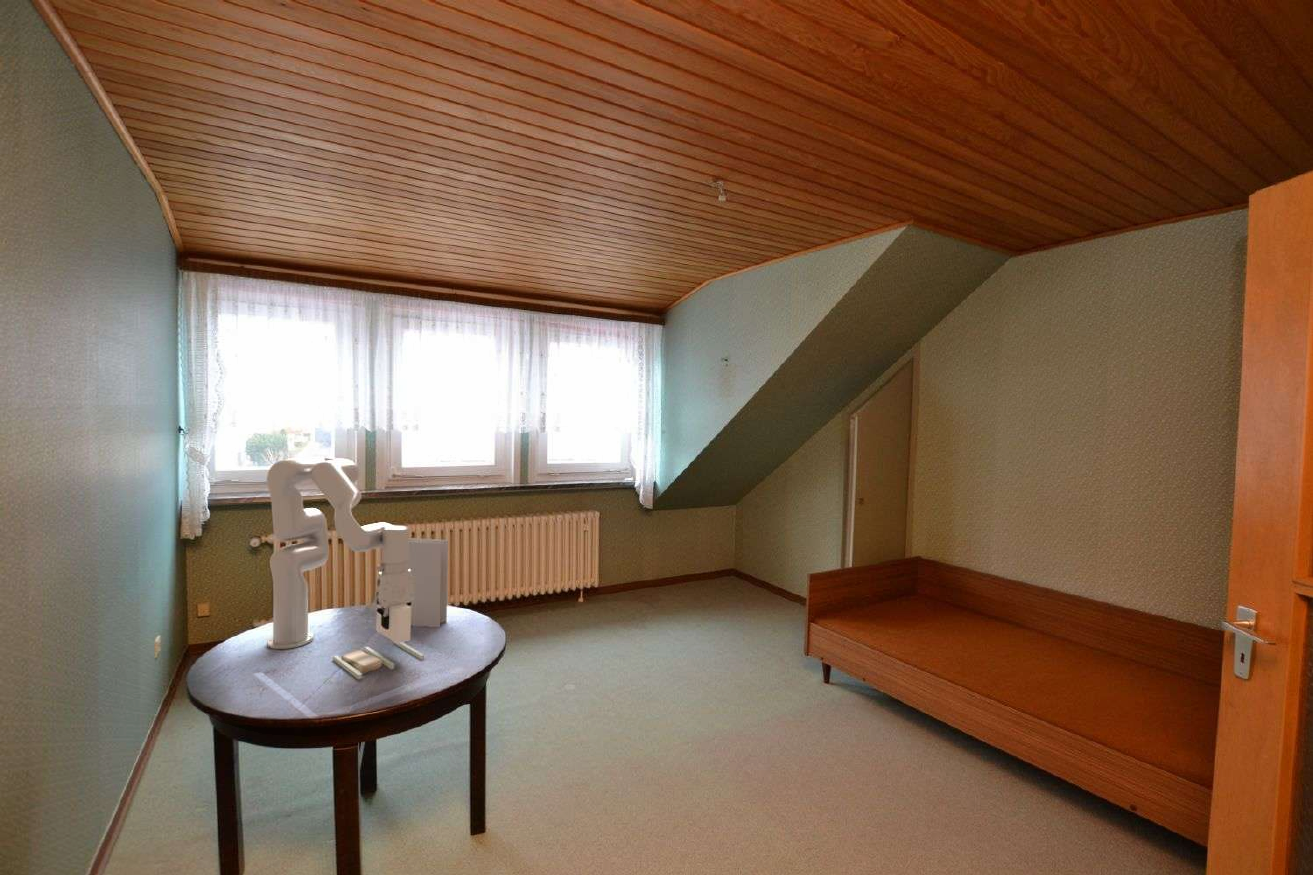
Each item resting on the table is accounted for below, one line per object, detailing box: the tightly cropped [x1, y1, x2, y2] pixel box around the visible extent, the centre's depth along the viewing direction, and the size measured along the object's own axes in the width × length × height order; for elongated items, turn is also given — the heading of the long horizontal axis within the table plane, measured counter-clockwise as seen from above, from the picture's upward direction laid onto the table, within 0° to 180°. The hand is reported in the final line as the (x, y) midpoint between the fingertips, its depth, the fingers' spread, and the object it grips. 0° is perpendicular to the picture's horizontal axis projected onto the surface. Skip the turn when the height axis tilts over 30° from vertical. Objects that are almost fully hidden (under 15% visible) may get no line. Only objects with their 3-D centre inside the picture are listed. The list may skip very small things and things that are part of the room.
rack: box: [332, 641, 425, 680], centre depth 170 cm, size 18×19×2 cm
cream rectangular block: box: [375, 604, 412, 643], centre depth 174 cm, size 14×4×10 cm, turn 49°
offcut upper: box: [341, 649, 383, 674], centre depth 166 cm, size 12×5×2 cm, turn 58°
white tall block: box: [408, 537, 449, 628], centre depth 204 cm, size 14×6×30 cm, turn 84°
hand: (393, 625), depth 174 cm, fingers closed on cream rectangular block, 4 cm apart
